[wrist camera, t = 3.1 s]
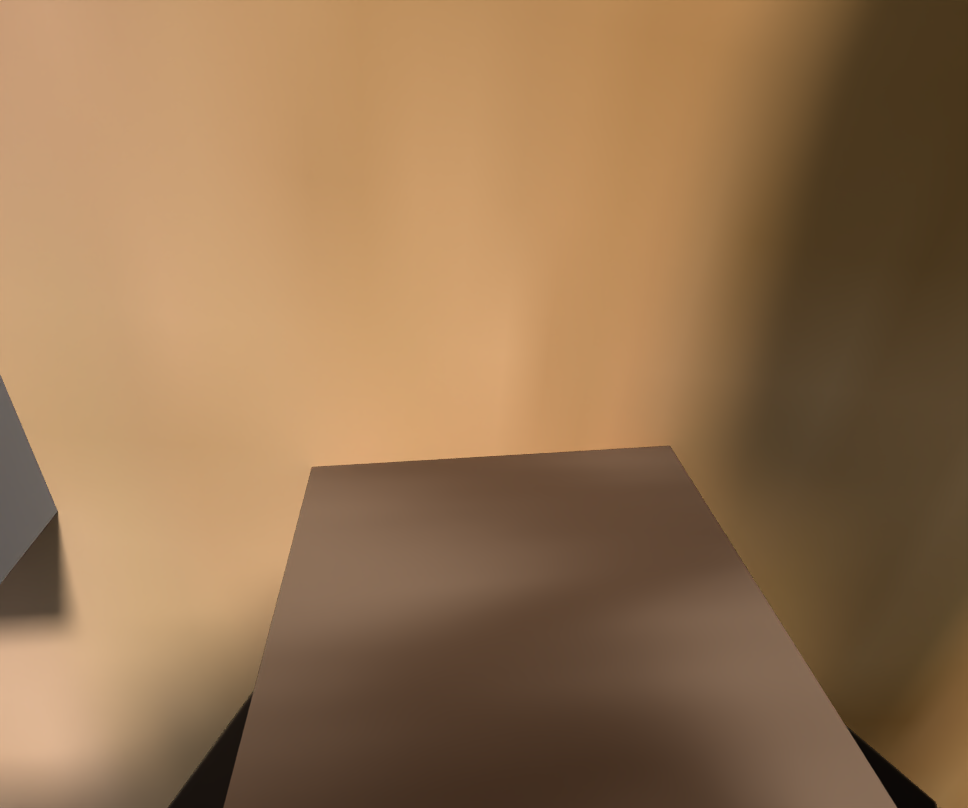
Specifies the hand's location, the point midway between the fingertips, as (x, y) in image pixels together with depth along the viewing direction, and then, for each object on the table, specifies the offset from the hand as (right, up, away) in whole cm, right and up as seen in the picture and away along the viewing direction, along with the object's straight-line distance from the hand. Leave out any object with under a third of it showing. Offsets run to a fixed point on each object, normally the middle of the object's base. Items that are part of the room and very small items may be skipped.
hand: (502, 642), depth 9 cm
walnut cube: (0, +1, +1) cm, 1 cm away
